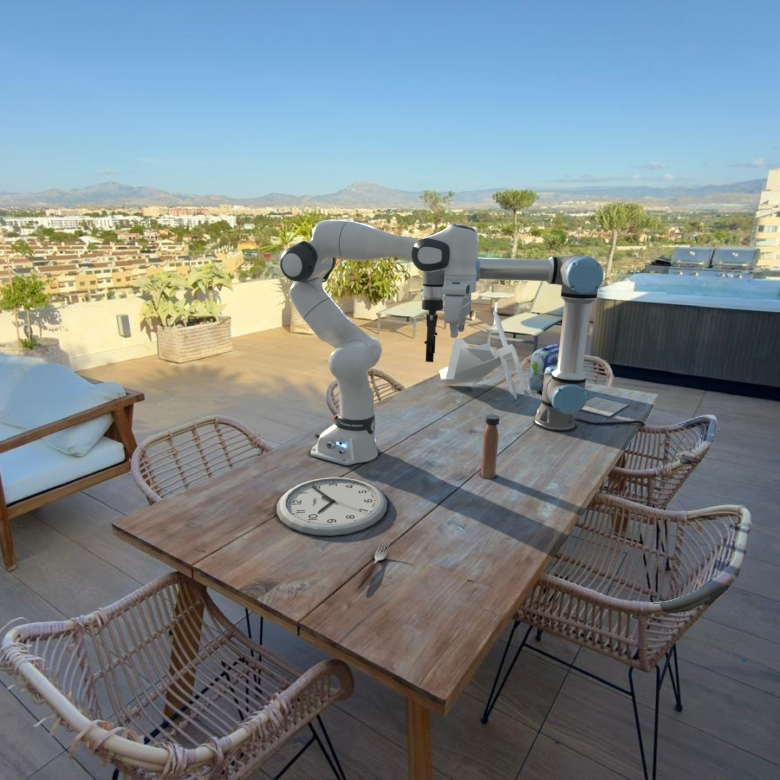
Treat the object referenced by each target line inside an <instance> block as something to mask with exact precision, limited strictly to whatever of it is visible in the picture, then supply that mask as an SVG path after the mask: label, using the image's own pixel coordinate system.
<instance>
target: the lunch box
mask: <svg viewBox="0 0 780 780" xmlns="http://www.w3.org/2000/svg"><path fill="white" fill-rule="evenodd" d="M559 346H560V344H551V345H547V346H545V347H541V348H539V349H536V350H534V352H533V353H532V355H531V358H530V359H531V360H530V366H529V377H528V379H529V380H528V387H529V390H531V391H536V392H541V393H542V392H543V382H544V373H545V369H546V368H547V367H553V366H557V364H558V355H559Z"/></svg>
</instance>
